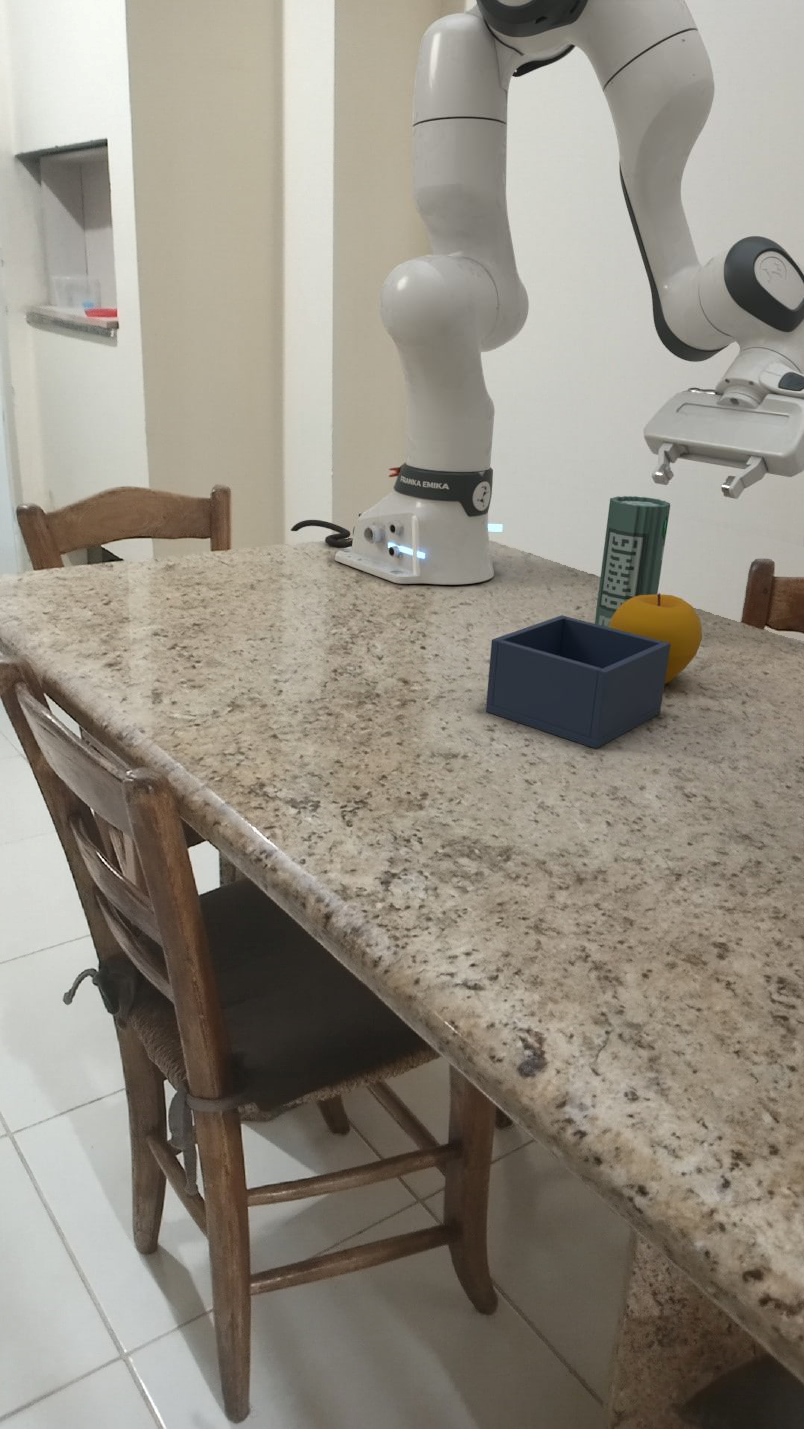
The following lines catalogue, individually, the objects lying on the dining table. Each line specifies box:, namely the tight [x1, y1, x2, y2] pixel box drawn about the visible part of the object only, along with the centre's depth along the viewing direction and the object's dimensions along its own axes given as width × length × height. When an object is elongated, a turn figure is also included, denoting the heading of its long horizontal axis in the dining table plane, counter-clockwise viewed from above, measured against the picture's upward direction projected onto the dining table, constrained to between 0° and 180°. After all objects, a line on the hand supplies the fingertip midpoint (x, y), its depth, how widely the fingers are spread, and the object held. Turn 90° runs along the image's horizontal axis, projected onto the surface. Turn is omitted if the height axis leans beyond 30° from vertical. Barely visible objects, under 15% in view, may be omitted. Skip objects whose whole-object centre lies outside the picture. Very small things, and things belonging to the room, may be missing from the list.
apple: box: [609, 592, 703, 684], centre depth 100 cm, size 9×9×9 cm
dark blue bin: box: [485, 614, 671, 750], centre depth 91 cm, size 11×11×7 cm
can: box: [594, 495, 671, 627], centre depth 113 cm, size 6×6×15 cm
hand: (692, 487), depth 115 cm, fingers open, 8 cm apart
